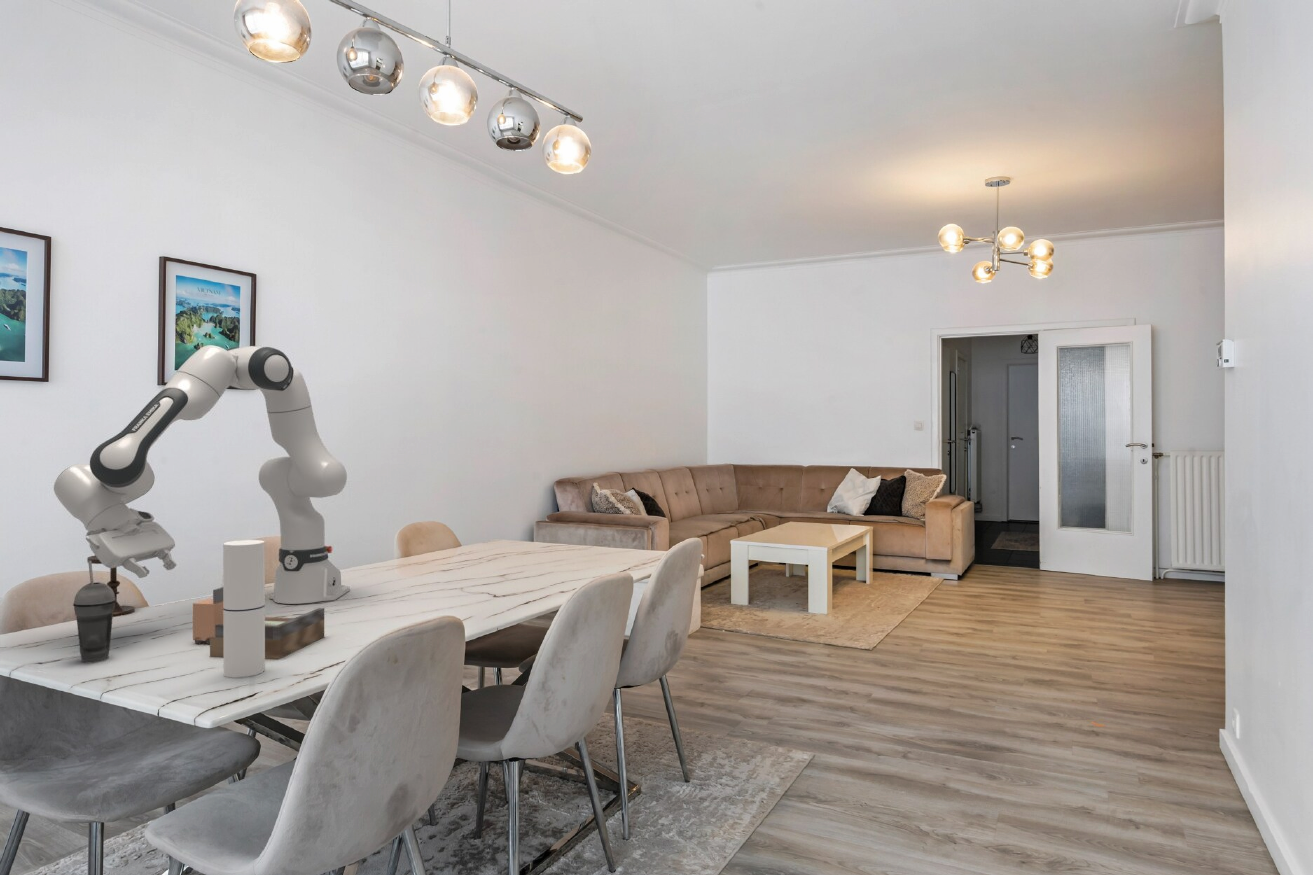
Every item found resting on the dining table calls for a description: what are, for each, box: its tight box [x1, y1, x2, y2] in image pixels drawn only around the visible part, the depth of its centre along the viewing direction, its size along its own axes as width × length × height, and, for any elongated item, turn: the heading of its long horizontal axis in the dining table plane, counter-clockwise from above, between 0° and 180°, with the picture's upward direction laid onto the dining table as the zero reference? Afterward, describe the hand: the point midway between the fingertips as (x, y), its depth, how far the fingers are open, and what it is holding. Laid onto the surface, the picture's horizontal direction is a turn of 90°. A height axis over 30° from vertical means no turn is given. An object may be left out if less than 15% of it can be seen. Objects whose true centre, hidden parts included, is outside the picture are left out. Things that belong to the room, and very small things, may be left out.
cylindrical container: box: [222, 539, 266, 679], centre depth 158 cm, size 7×7×25 cm
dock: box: [209, 607, 325, 660], centre depth 177 cm, size 18×15×6 cm
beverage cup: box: [72, 561, 116, 663], centre depth 166 cm, size 7×7×20 cm
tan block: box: [192, 586, 224, 646], centre depth 180 cm, size 5×5×12 cm
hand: (159, 571), depth 180 cm, fingers open, 8 cm apart
